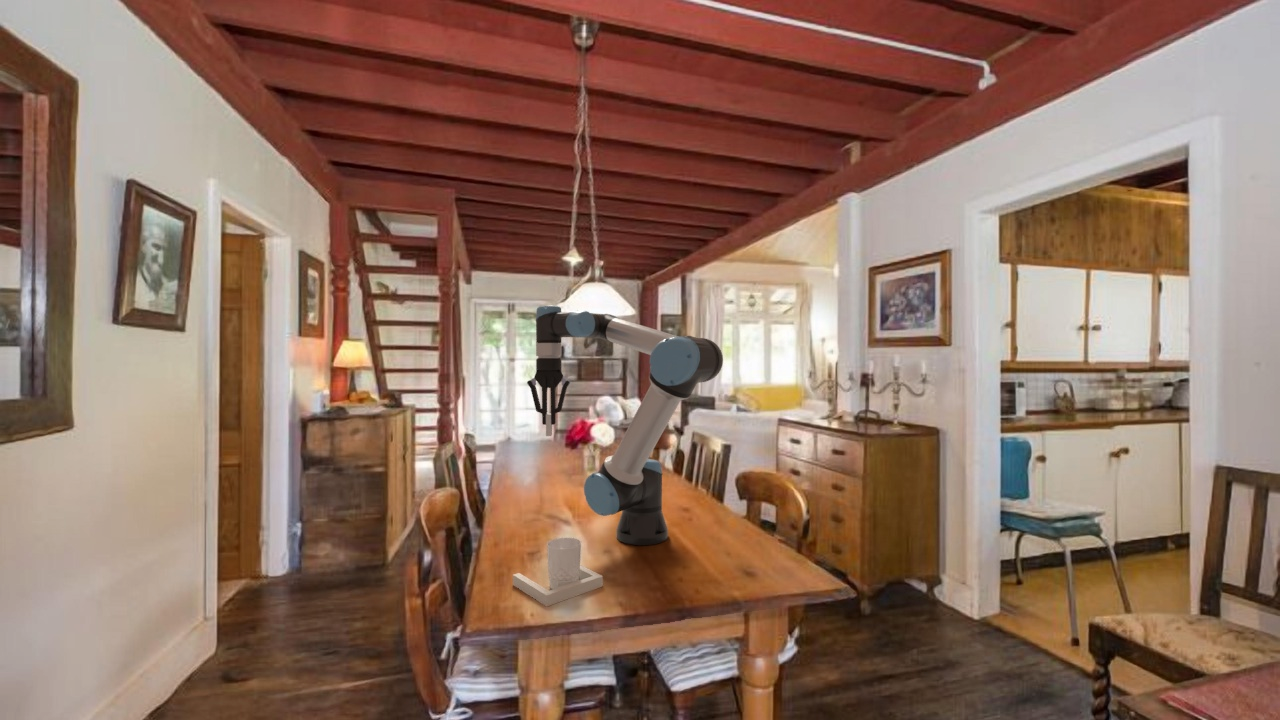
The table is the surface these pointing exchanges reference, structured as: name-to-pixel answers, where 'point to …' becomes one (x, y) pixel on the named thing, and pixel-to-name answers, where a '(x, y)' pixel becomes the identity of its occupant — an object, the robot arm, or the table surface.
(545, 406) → the robot arm
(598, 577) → the bay
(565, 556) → the white cup
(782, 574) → the table surface
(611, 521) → the table surface
